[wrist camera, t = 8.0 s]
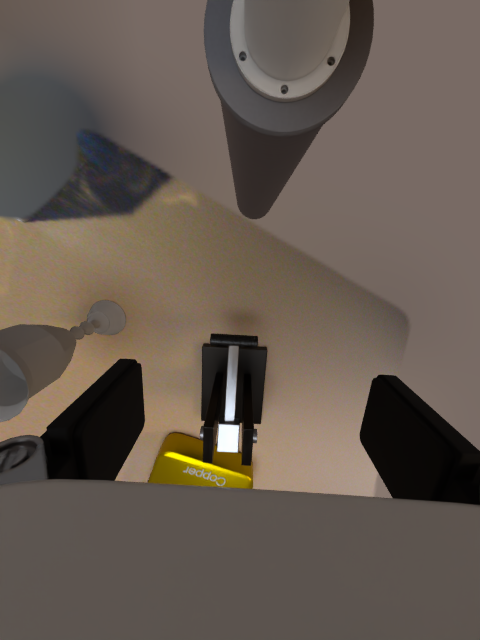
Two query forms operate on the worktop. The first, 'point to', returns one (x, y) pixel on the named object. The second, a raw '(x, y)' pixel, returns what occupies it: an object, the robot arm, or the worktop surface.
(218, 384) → the bracket
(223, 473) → the element tile
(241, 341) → the lever
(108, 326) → the chalice
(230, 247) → the worktop surface
